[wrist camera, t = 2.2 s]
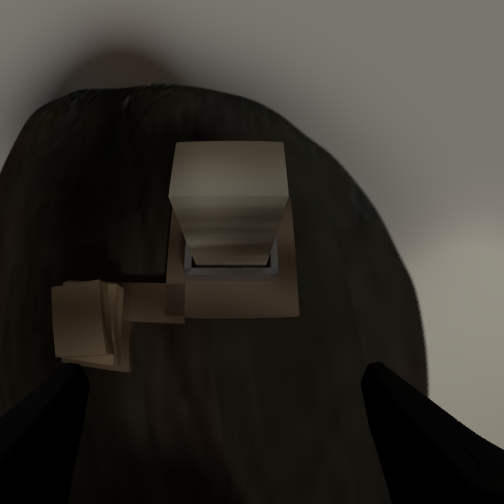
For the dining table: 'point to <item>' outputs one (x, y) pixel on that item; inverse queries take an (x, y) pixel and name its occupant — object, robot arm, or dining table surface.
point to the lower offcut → (116, 324)
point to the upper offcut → (82, 320)
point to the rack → (209, 290)
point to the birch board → (229, 200)
